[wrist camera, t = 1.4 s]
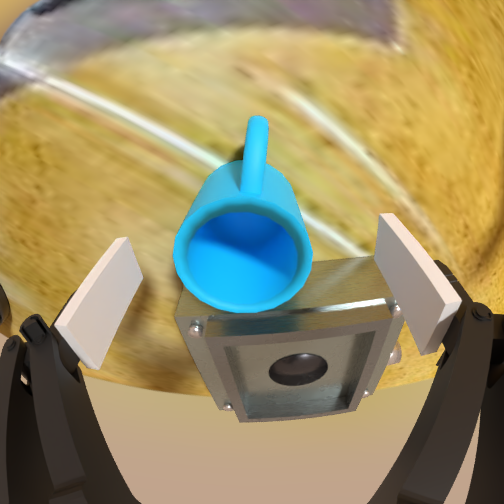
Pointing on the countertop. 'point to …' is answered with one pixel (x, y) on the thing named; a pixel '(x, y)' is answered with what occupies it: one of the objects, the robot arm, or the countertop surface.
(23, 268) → the countertop surface
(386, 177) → the countertop surface
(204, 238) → the mug
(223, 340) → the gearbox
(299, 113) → the countertop surface
